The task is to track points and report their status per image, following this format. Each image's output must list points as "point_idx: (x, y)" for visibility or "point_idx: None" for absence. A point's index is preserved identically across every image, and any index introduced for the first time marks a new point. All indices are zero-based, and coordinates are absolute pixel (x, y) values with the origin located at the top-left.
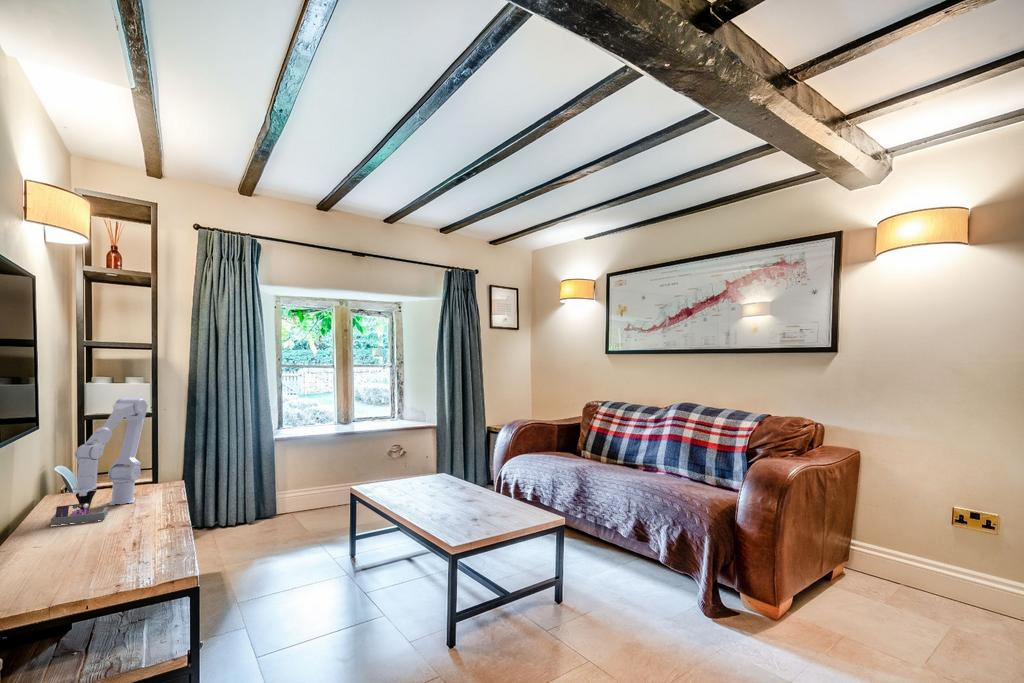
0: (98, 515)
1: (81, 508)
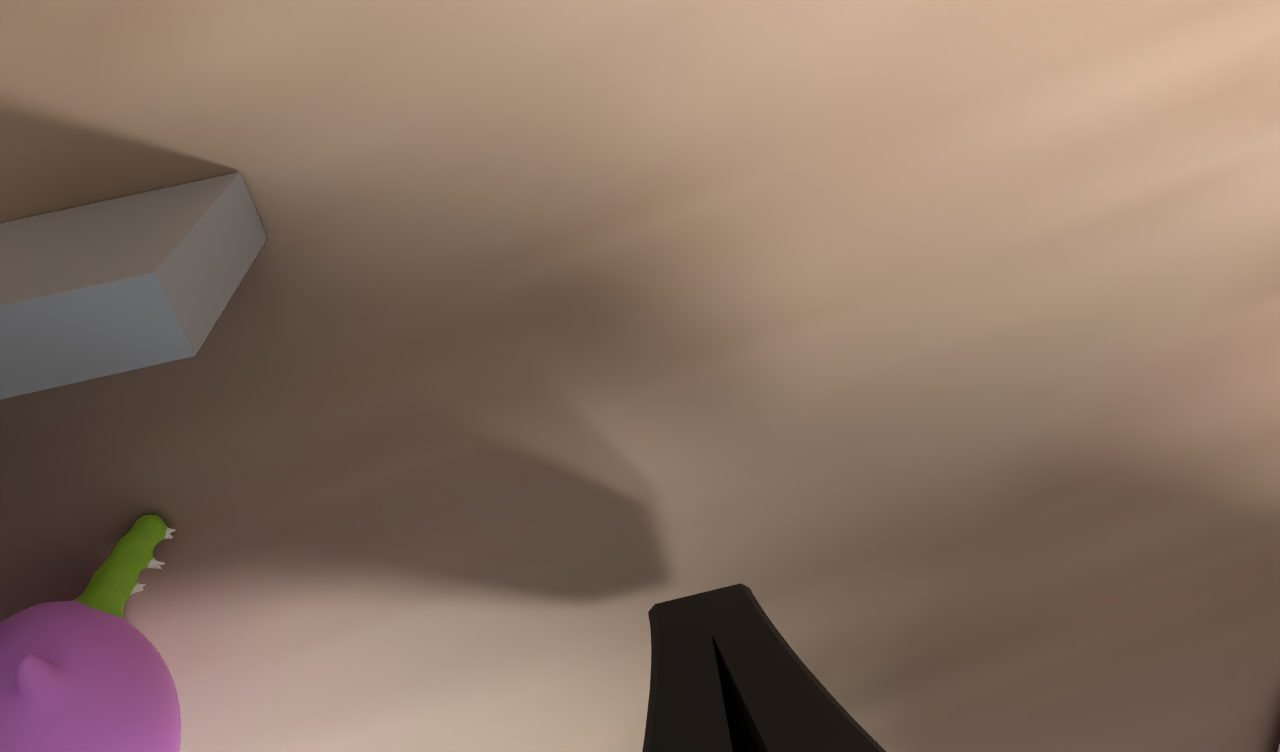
0: None
1: (653, 691)
